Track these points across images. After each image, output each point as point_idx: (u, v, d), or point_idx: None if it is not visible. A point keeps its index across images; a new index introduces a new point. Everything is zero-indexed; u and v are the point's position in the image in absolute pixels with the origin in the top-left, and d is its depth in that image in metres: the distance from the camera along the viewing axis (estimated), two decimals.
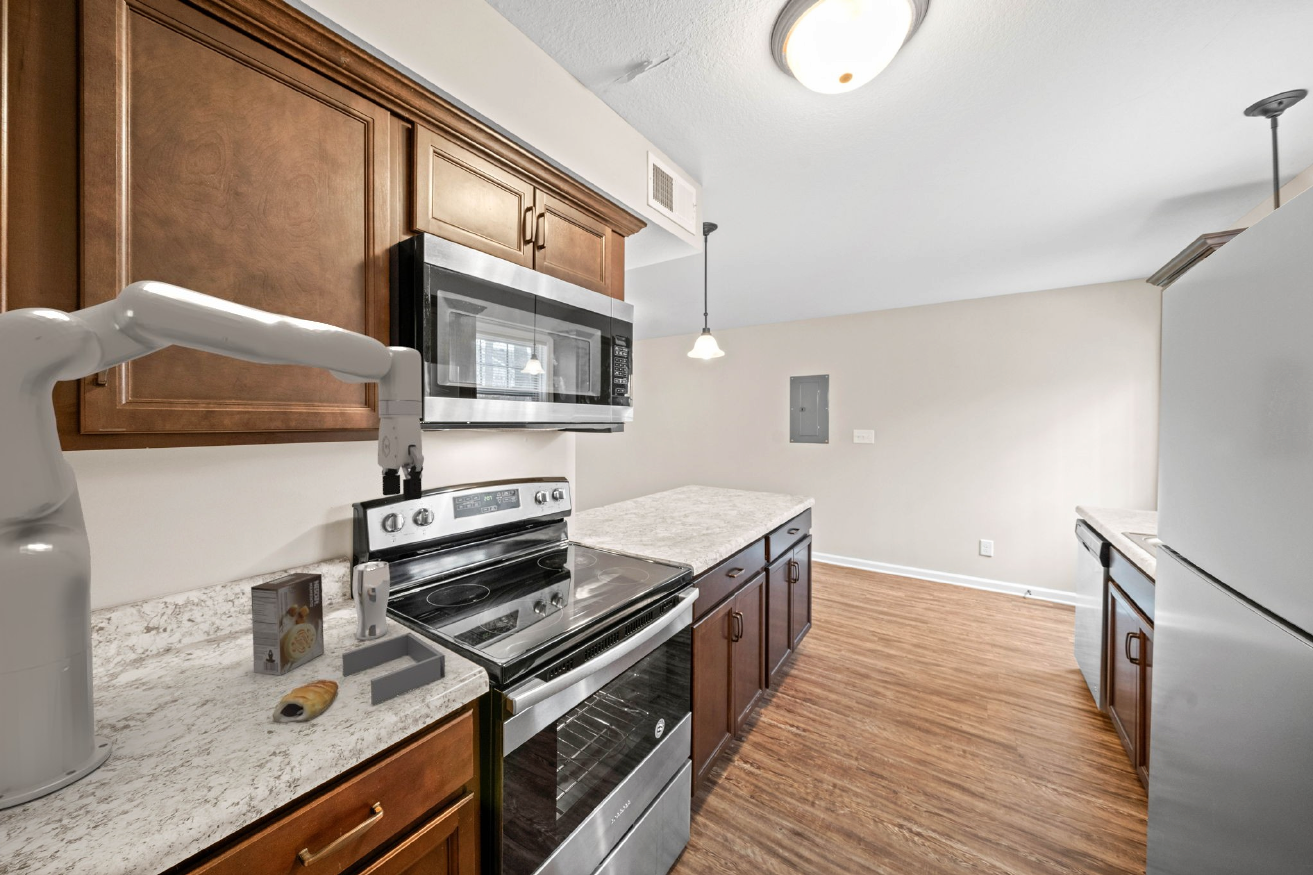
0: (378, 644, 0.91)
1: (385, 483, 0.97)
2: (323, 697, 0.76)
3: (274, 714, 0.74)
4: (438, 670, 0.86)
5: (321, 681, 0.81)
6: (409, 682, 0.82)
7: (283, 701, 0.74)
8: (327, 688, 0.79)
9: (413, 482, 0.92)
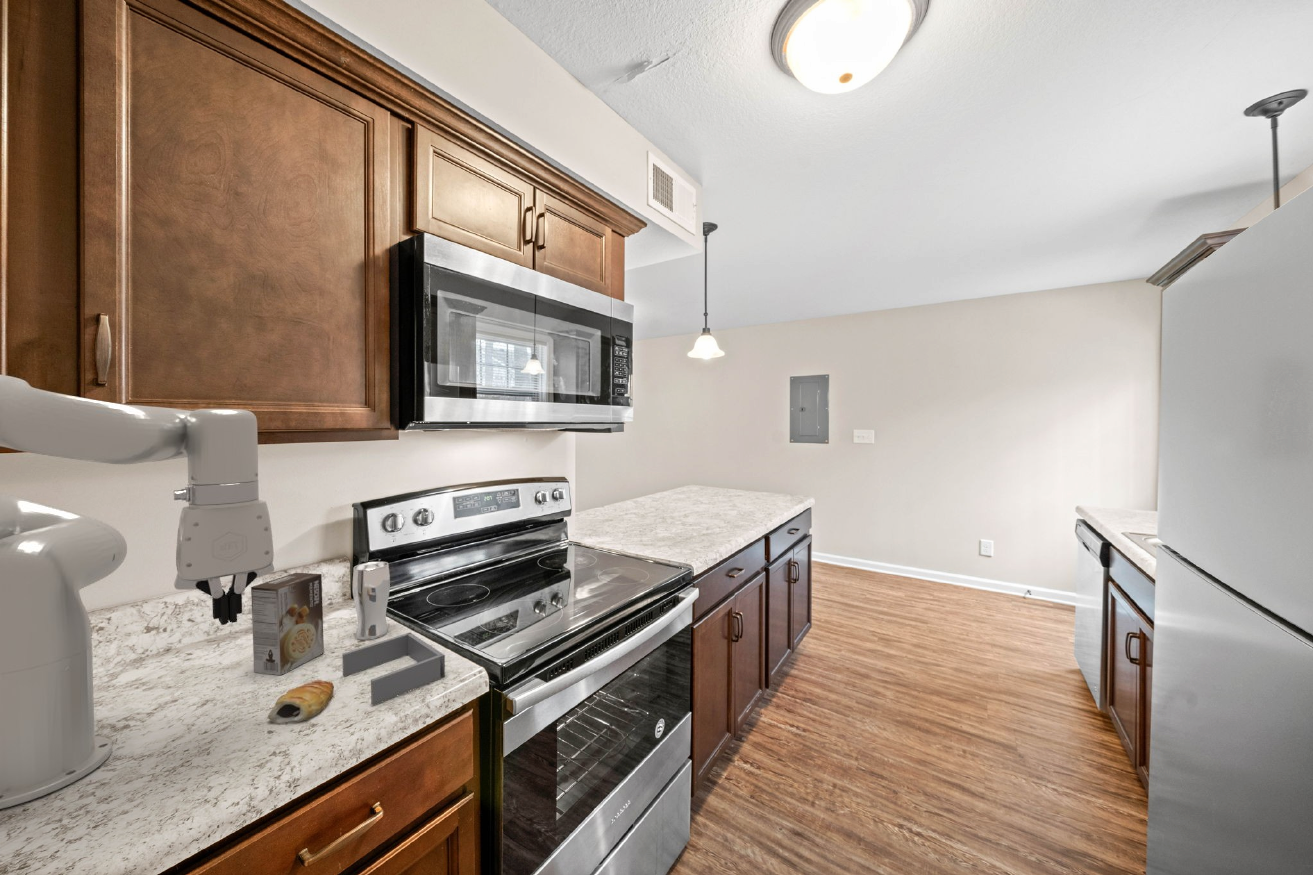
0: (378, 644, 0.91)
1: (227, 606, 0.69)
2: (319, 698, 0.76)
3: (270, 715, 0.73)
4: (438, 670, 0.86)
5: (317, 682, 0.80)
6: (409, 682, 0.82)
7: (279, 702, 0.74)
8: (323, 688, 0.79)
9: None
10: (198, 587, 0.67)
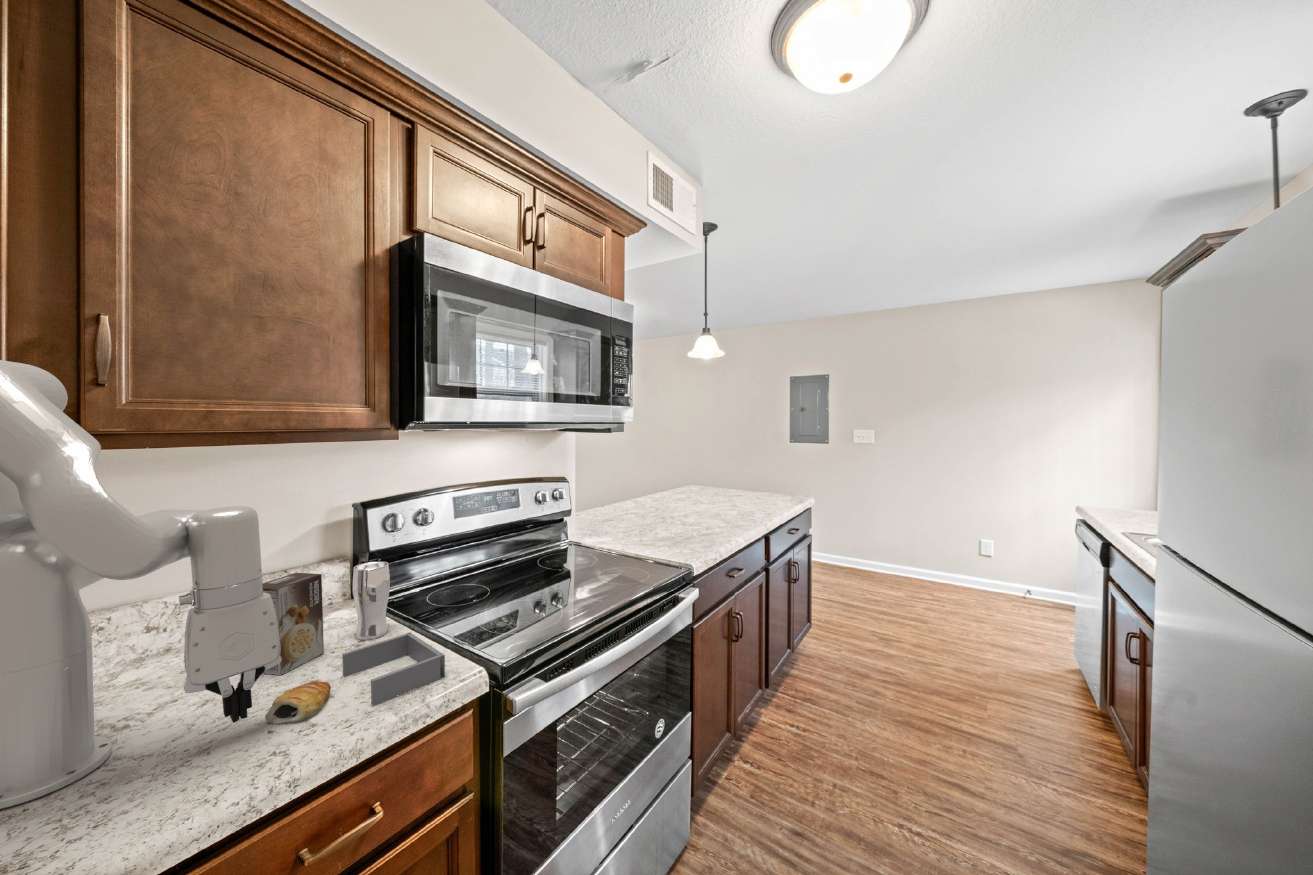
0: (378, 644, 0.91)
1: (237, 703, 0.69)
2: (316, 698, 0.76)
3: (267, 716, 0.73)
4: (438, 670, 0.86)
5: (313, 682, 0.80)
6: (409, 682, 0.82)
7: (276, 702, 0.73)
8: (320, 689, 0.78)
9: None
10: (208, 688, 0.67)
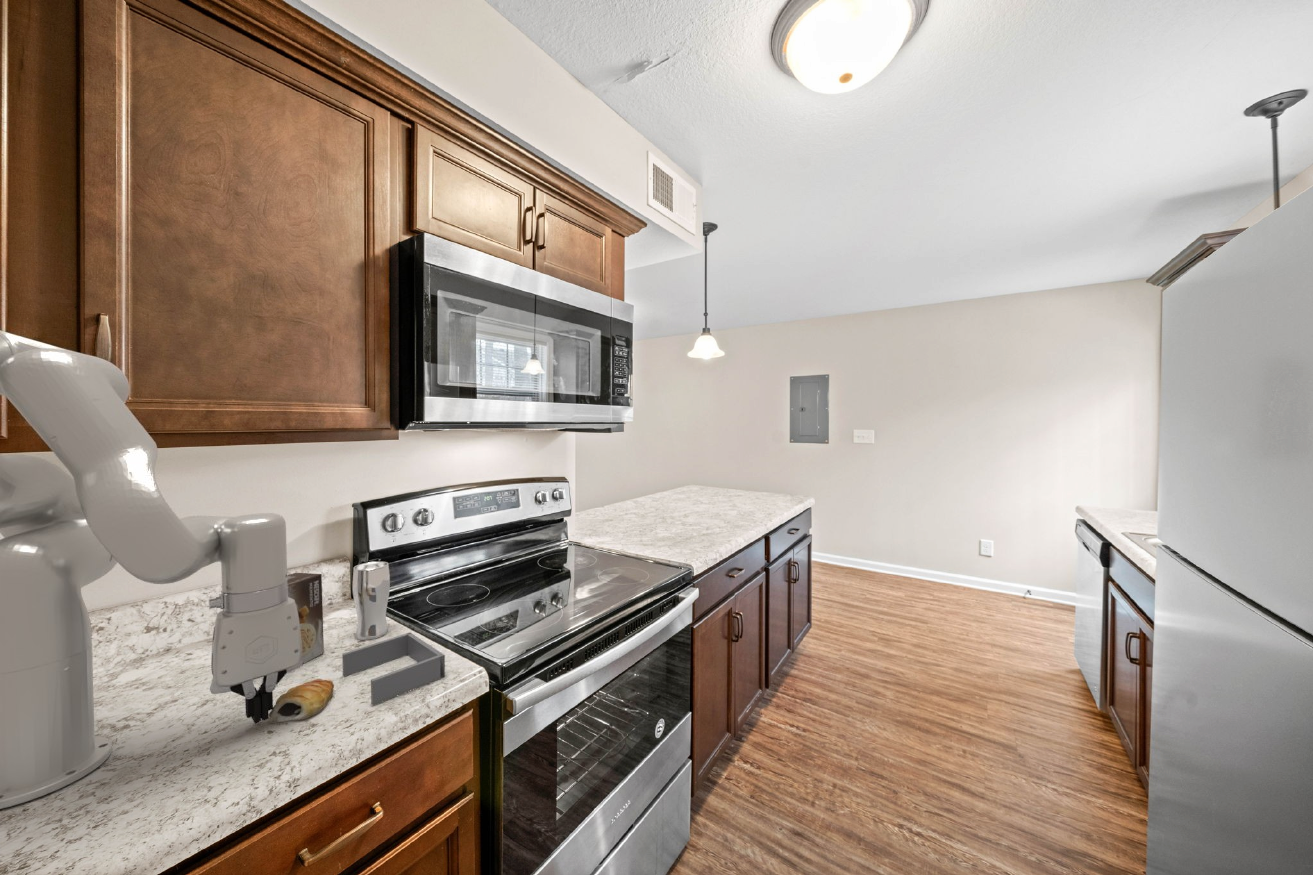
0: (378, 644, 0.91)
1: (259, 705, 0.72)
2: (320, 696, 0.77)
3: (271, 714, 0.74)
4: (438, 670, 0.86)
5: (317, 680, 0.81)
6: (409, 682, 0.82)
7: (280, 700, 0.74)
8: (324, 687, 0.79)
9: None
10: (232, 690, 0.70)
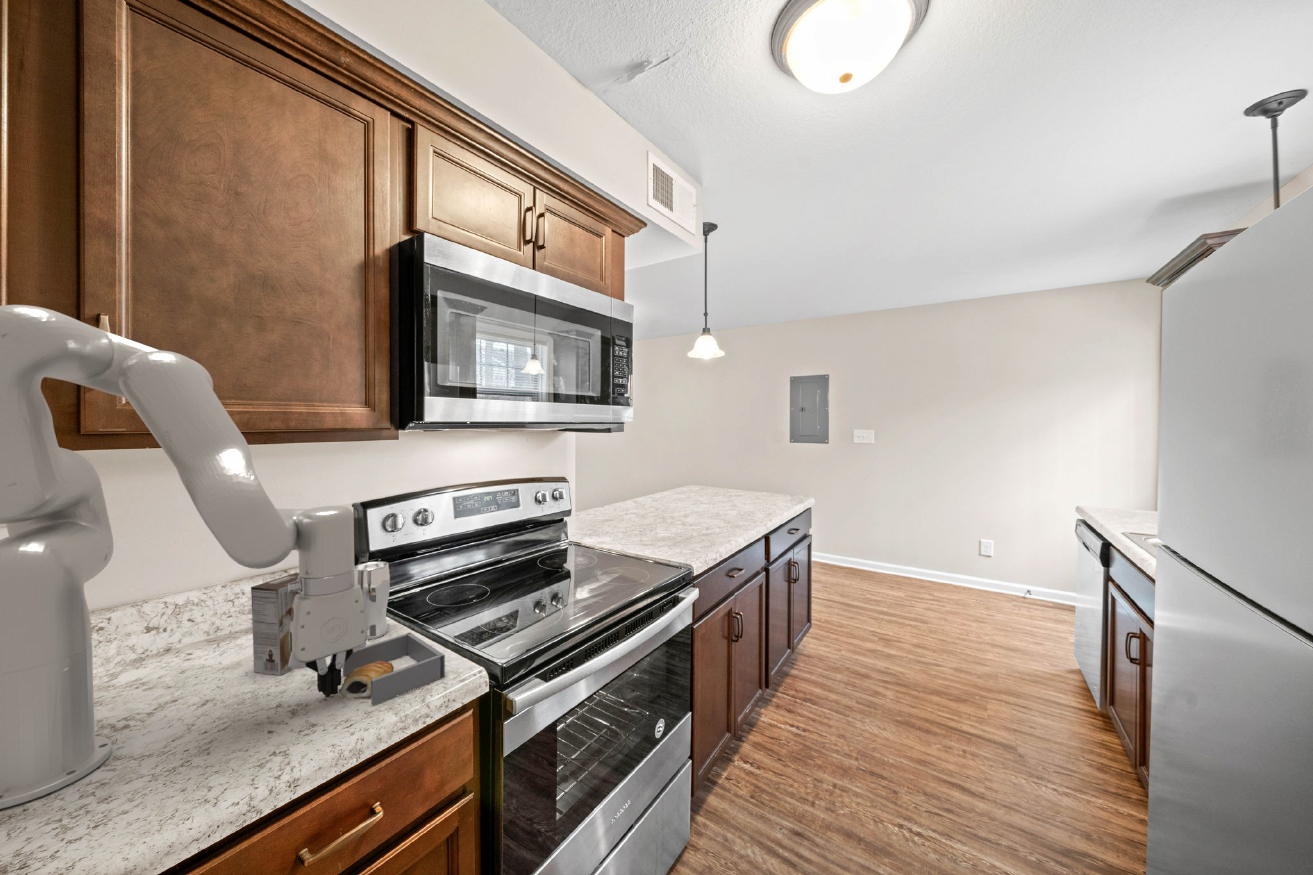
0: (378, 644, 0.91)
1: None
2: None
3: (340, 691, 0.80)
4: (438, 670, 0.86)
5: (378, 662, 0.87)
6: (409, 682, 0.82)
7: (348, 679, 0.80)
8: (385, 668, 0.85)
9: None
10: (308, 666, 0.76)
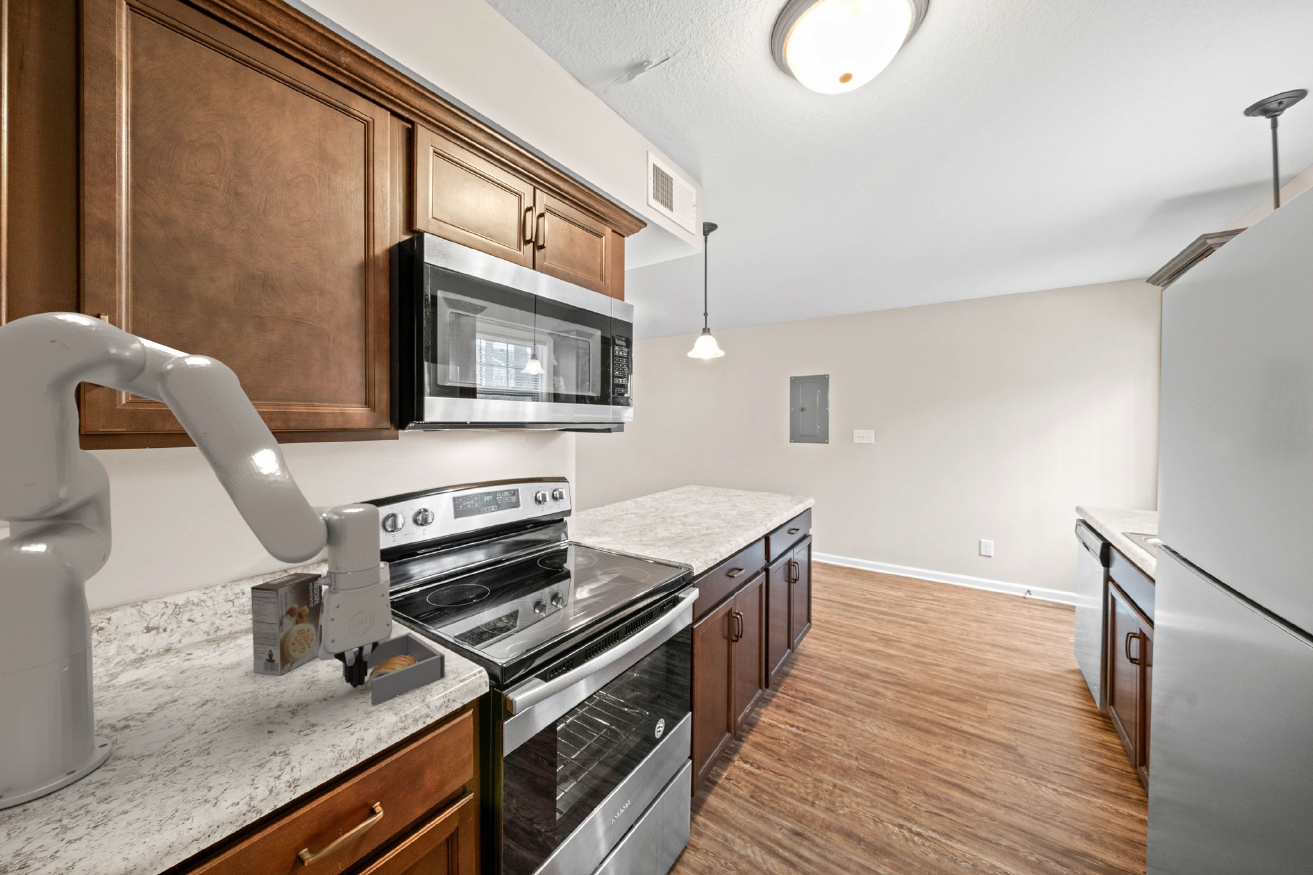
0: None
1: None
2: None
3: (367, 684, 0.82)
4: (438, 670, 0.86)
5: (401, 656, 0.89)
6: (409, 682, 0.82)
7: (375, 672, 0.82)
8: (409, 661, 0.87)
9: None
10: (336, 657, 0.80)
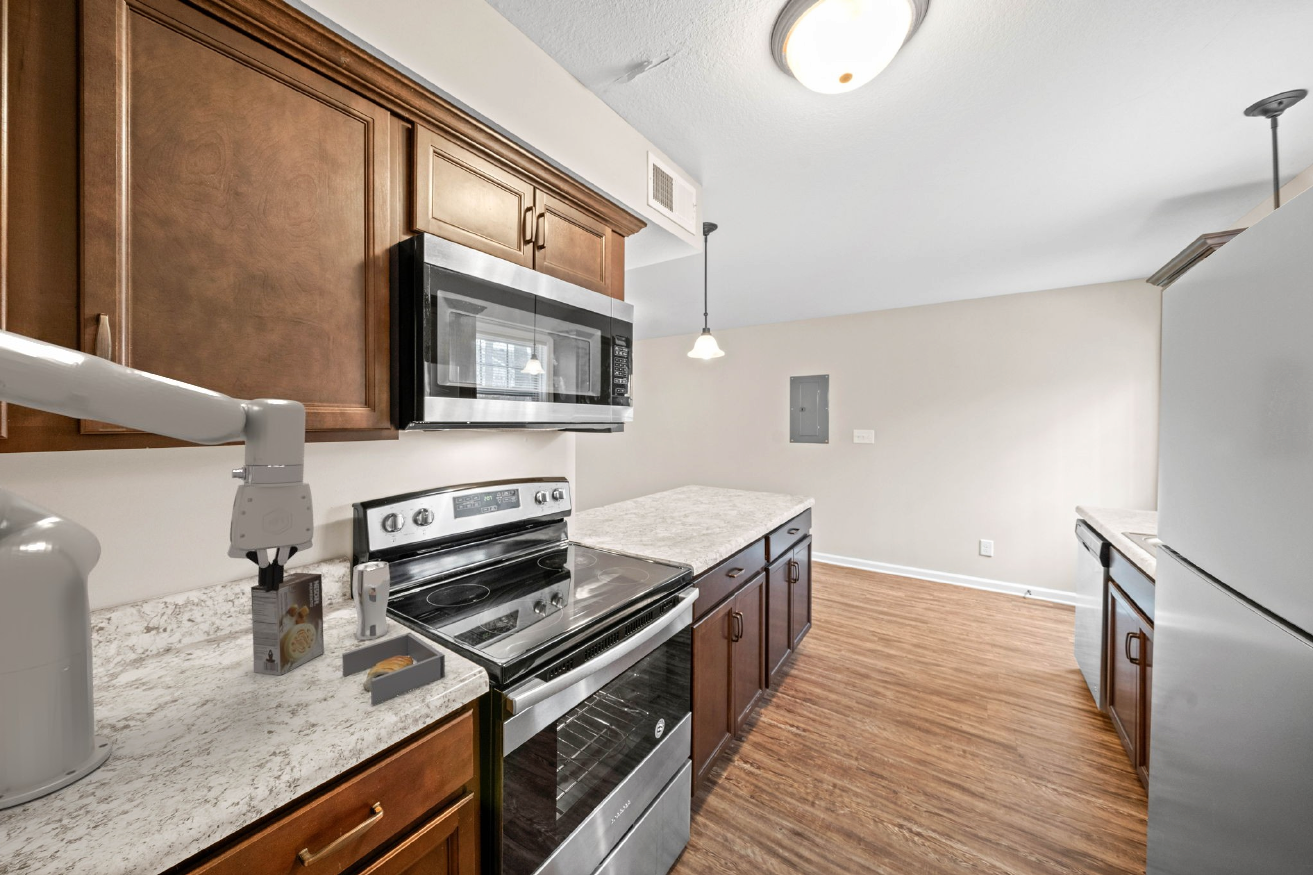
0: (378, 644, 0.91)
1: (271, 576, 0.77)
2: None
3: (365, 684, 0.82)
4: (438, 670, 0.86)
5: (398, 656, 0.89)
6: (409, 682, 0.82)
7: (373, 672, 0.82)
8: (407, 662, 0.87)
9: None
10: (248, 557, 0.75)
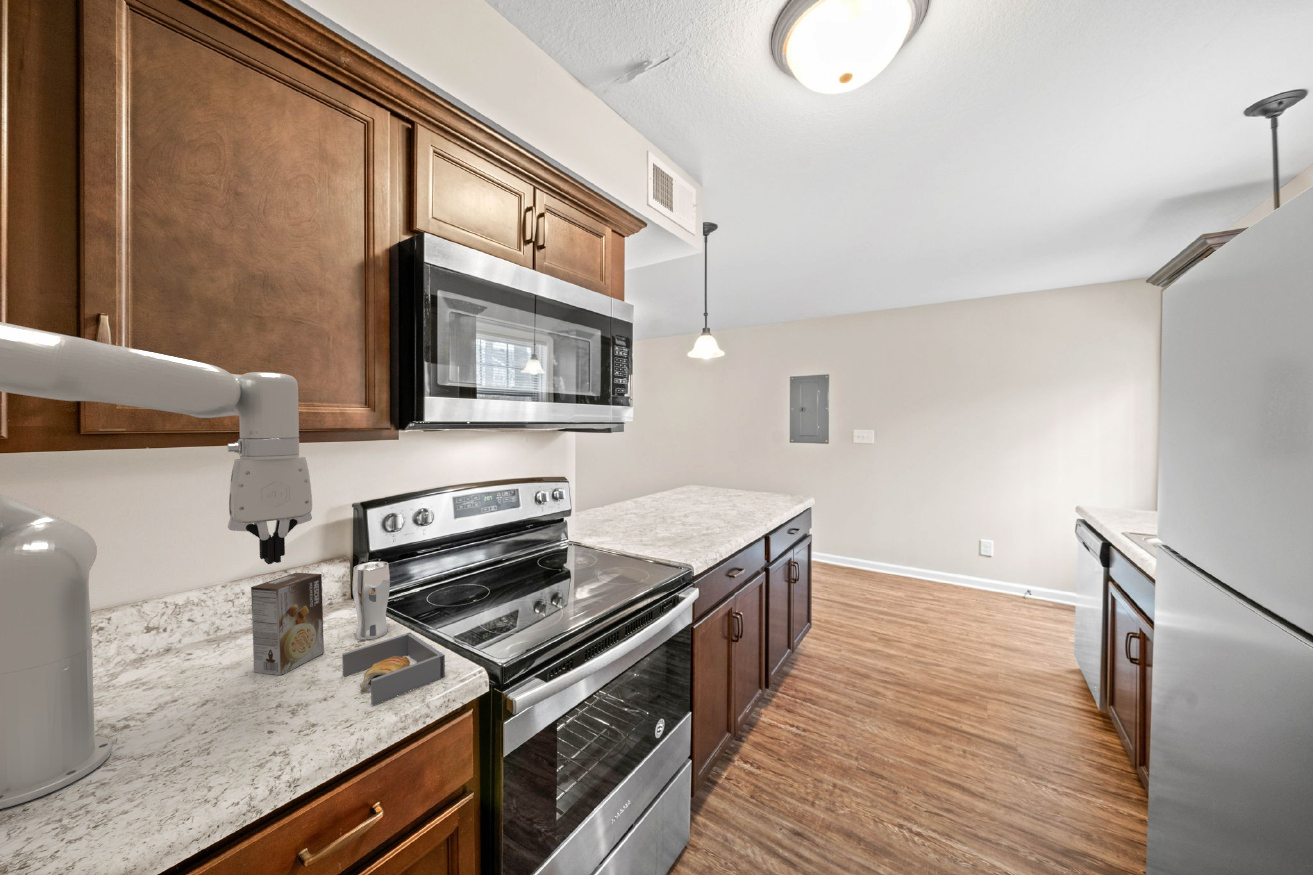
0: (378, 644, 0.91)
1: (273, 548, 0.78)
2: None
3: (362, 685, 0.82)
4: (438, 670, 0.86)
5: (395, 657, 0.89)
6: (409, 682, 0.82)
7: (370, 673, 0.82)
8: (403, 662, 0.87)
9: None
10: (248, 529, 0.76)
